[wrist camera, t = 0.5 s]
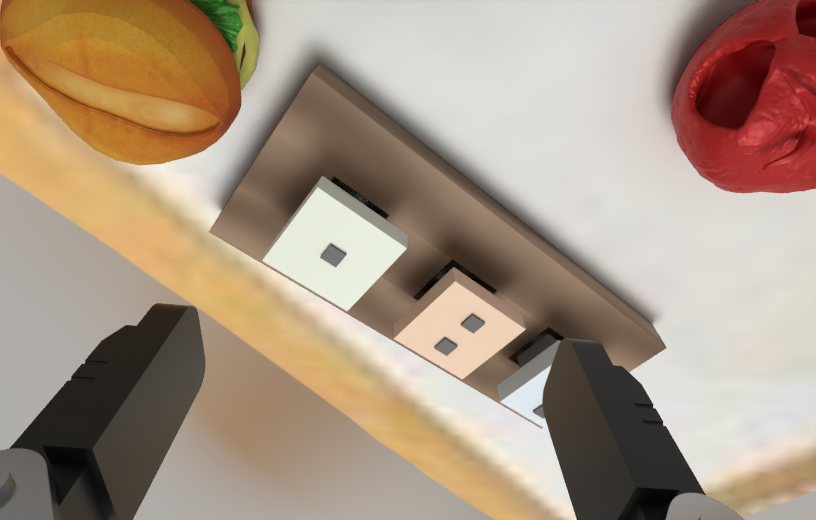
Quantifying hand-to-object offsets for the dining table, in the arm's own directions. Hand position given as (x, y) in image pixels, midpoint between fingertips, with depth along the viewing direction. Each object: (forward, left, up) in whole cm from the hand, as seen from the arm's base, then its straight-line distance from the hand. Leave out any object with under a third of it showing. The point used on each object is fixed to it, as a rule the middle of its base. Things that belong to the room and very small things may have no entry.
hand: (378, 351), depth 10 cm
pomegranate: (-13, +14, -20) cm, 28 cm away
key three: (+7, +19, -17) cm, 27 cm away
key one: (+7, +1, -17) cm, 19 cm away
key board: (+7, +10, -20) cm, 23 cm away
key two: (+7, +10, -17) cm, 21 cm away
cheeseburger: (+4, -12, -20) cm, 24 cm away
